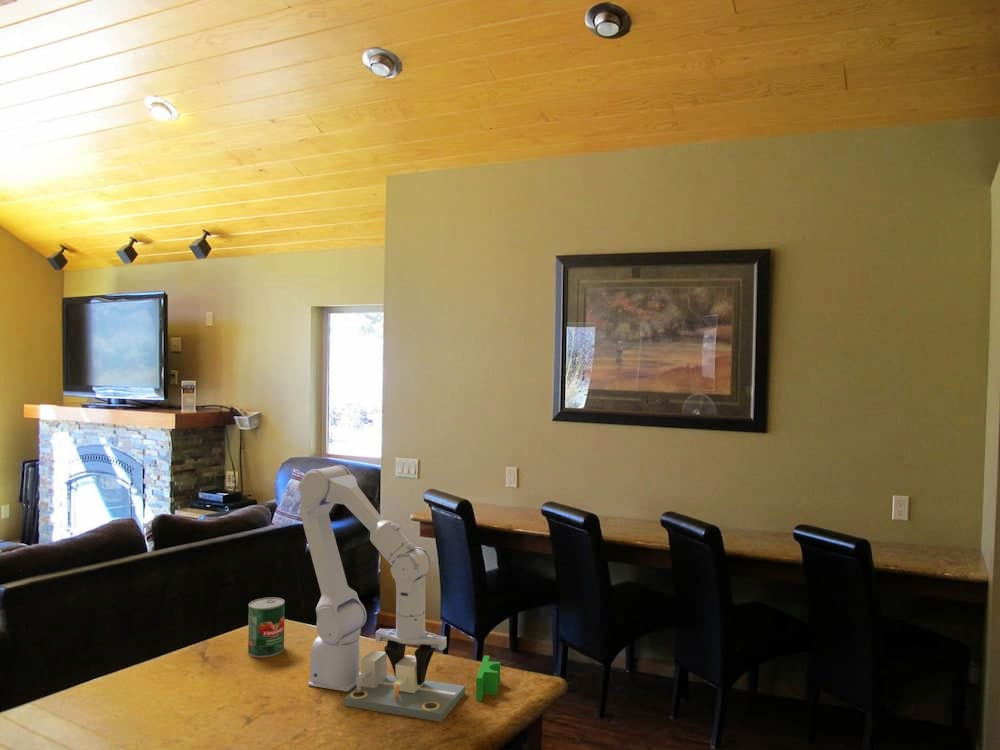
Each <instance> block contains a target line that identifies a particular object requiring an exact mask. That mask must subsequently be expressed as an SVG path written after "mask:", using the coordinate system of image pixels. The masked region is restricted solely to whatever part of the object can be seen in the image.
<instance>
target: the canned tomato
mask: <svg viewBox="0 0 1000 750" xmlns="http://www.w3.org/2000/svg"><path fill="white" fill-rule="evenodd" d="M285 603H286V601H285V599H283V598H281V597H274V596H273V597H262V598H257V599H254V600H252V601H250V602H249V603H248V630H247V631H248V634H247V636H248V640H247V642H248V644H247V648H248V649H247V654H248V656H250V657H252V658H269V657H274V656H277V655H279V654H281V653H282V652H284V650H285Z"/></svg>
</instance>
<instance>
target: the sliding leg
mask: <svg viewBox="0 0 1000 750" xmlns="http://www.w3.org/2000/svg"><path fill="white" fill-rule="evenodd" d="M394 676H395V683H394V688H395V691H394V699H399V691H402V692H409V693H415V692H416V691H417V690H418V689H419V688H420V687H421V686H422V685H423V684H424V683H425V681H424V682H423V683H422V684H421V685H417V663H416V657H415V655H410V654H406V655H404V658H403V659H401V660H400V661H399V662H398V663H397V664H396V674H394Z"/></svg>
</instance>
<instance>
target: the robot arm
mask: <svg viewBox="0 0 1000 750" xmlns="http://www.w3.org/2000/svg"><path fill="white" fill-rule="evenodd" d="M297 486H298V489H299V493H300V507H299V512H300V513H299V514H300V517H301V521H302V525H303V529H304V534H305V537H306V540H307V545H308V548H309V552H310V556H311V561H312V564H313V569H314V570H315V571H314V572H315V576H316V578H317V584H318V586H319V587H318V588H319V590H320V595H321V596H320V598H319V601H318V602H317V605H316V607H315V612H316V625H315V626H316V627H315V628H316V633H317V634H318V636H317V637H316V638H315V639H314V641H313V643H312V645H311V649H310V657H309V658H310V662H309V663H310V666H309V668H310V671H309V672H310V674H309V676H310V678H309V679H310V681H308V683H307V686H311V687H317V688H322V689H327V690H328V689H329V690H335V691H342V692H350V691H352V690H353V689H355V688H356V687H357V682H356V677H358V676H359V675H360V674H361V671H360V643H361V642H360V638H361V634H362V633H361V631H362V627H363V626H364V625H365V624H366V622H367V615H368V614H367V610H366V608H365V605H364V604H363V603H362V602H361V600H360V598H359V596H358V593H357V591H355V590H354V589H353V588H351V587H350V586H349V584H348V581H347V578H346V577H347V576H346V574H345V570H344V566H343V563H342V562H343V561H342V558H341V555H340V552H339V548H338V545H337V541H336V536H335V533H334V530H333V525H332V521H331V519H330V512H331V511H332V509H333V507H334V505H335V504H338V505H344V506H345V507H346V508H347V509H348V510H349V511H350V513H351V514H352V515H354V516H355V518H357V519H358V520H359V521H360V523H361V524H363V526H364V527H365V528H367V530H368V531H369V541H370V542H371V544H372V545H373V546H374V547H375V548H376V550H377V551H378V552H379V553H380V554H381V555H382V556H383V558H384V559H385V560H386V561H387V562H388V563H389V565H390V566H391V567H390V574H391V576H392V579H394V581H395V589H396V590H395V591H396V593H395V595H396V598H395V600H396V604H395V605H396V606H395V611H396V612H395V613H396V615H395V628H379V629H378V630H376V631H375V636H374V637H375V639H374V640H375V642H377V643H378V642H379V643H380V642H386V645H385V646H384V652H386V654H387V658H388V659H389V662H390V665H391V668H392V670H393V673H394V674H393V675H395V674H396V664H397V663H398V662H399V661H400V660H401V659H403V658H404V657H405V656H406V655H405V653H406V646H407V645H411V646H417V647H418V646H419V647H418V648H417V649H416V650H415V651H414V656H415V657H416V663H417V685H421V684H422V683H423V682H424V681H425V680H426V675H427V671H428V667H429V664H430V661H431V659H432V657H433V654H434V653H435V651H436V650H439V651H443V650H445V649H446V648H447V639H448V638H447V636H444V635H438V634H436V633H432V632H430V631H429V632H428V631H427V630H426V590H427V589H426V582H427V581H426V580H427V579H426V577H427V576H426V574H427V573H428V572H429V571H430V569H431V558H430V555H429V554H428V552H427V550H426V549H425V548H423V547H420V546H416V545H415V543H414V542H411V541H410V540H409V539H408V538H407V536H406V535H405V534H404V533H403V532H402V530H400V529H401V526H400V525H399V524H398V522H396V523H395V522H394V521H392V520H387V519H386V520H385V519H383V518H382V516H381V515H380V513H379V512H378V511H377V509H376V508H375V507H374V506H373V504H372V502H370V500H369V499H368V497H367V496H366V495H365V493H363V491H362V490H361V488H360V487H359V485H358V481H357V478H356V477H355V476H354V475H353V474H352V473H351V472H350V470H349V469H348V468H347V467H346V466H344V465H342V464H336V465H333V466H327V467H322V468H315V469H314V468H313V469H312V468H311V469H310V470H308V471H306V472H305V473H304V475H303V476H302V478H301V480H300V481H299V483H298V485H297Z"/></svg>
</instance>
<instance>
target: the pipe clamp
mask: <svg viewBox="0 0 1000 750" xmlns="http://www.w3.org/2000/svg"><path fill="white" fill-rule="evenodd" d="M490 659H491V657H490V655H484V656H483V658H482V661H481V664H480V665H479V669H478V672H477V675H476V677H475V684H476V685H475V686H476V687H475V688H476V689H475V691H476V692H475V693H476V694H475V701H479V702H482V701H483V698H484V695H497V696H498V687H499V686H500V685H501V661H490Z"/></svg>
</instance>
